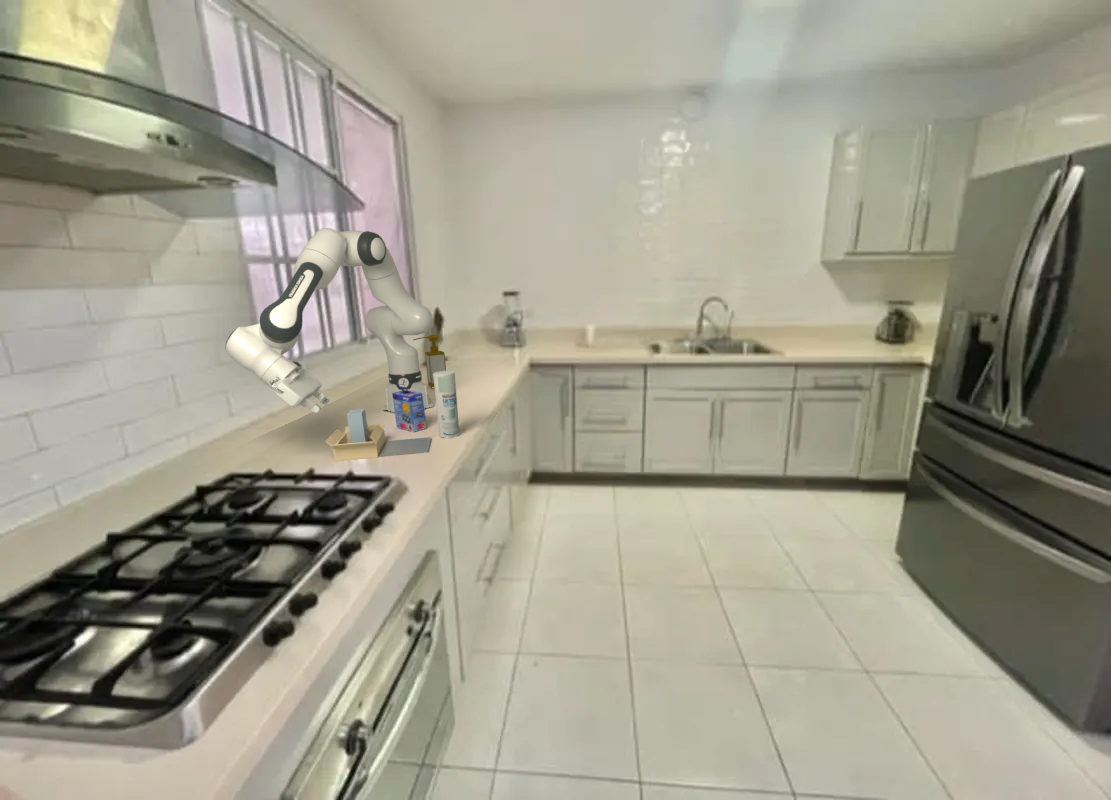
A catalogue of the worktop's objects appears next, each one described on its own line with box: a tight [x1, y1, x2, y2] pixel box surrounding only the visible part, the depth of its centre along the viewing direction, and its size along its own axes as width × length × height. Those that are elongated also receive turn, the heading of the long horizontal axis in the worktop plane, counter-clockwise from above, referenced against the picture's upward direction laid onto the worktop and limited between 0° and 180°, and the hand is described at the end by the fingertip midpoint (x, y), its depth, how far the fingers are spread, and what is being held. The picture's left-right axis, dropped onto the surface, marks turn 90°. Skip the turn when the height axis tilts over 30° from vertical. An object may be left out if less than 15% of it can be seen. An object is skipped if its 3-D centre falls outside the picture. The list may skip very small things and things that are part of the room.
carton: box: [324, 423, 386, 462], centre depth 157 cm, size 19×14×6 cm
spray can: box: [433, 370, 460, 438], centre depth 167 cm, size 6×6×20 cm
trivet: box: [379, 436, 432, 457], centre depth 159 cm, size 13×13×1 cm
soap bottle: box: [412, 334, 447, 388], centre depth 243 cm, size 7×13×24 cm, turn 115°
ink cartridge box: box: [392, 386, 427, 432], centre depth 178 cm, size 10×6×14 cm, turn 51°
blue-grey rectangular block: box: [346, 408, 369, 443], centre depth 156 cm, size 5×4×12 cm
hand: (323, 406), depth 153 cm, fingers open, 8 cm apart
